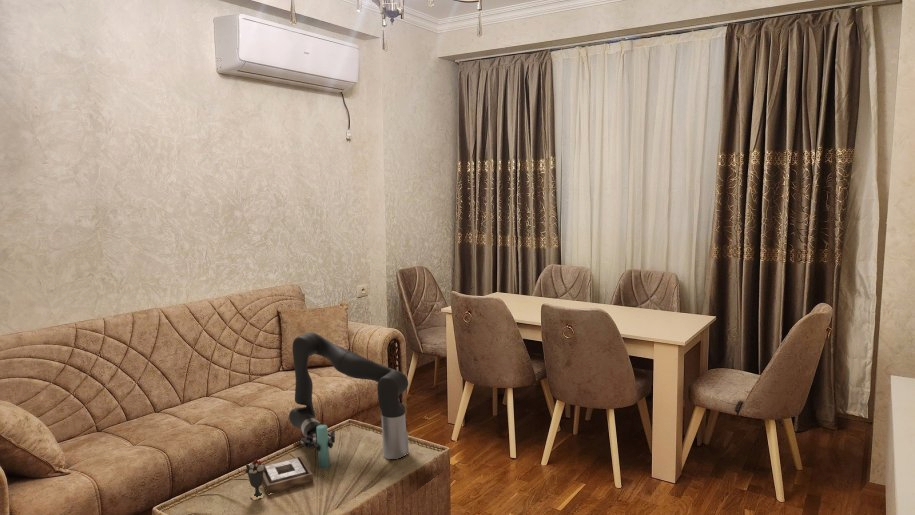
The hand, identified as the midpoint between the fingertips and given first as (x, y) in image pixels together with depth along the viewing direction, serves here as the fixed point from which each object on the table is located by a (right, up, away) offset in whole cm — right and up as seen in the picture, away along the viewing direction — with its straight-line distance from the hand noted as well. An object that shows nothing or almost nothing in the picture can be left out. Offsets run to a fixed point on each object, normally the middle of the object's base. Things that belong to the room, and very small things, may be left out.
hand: (325, 447), depth 235 cm
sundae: (-20, -12, -16) cm, 29 cm away
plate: (-13, -10, -5) cm, 18 cm away
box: (-13, -10, -5) cm, 18 cm away
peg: (-1, -9, +4) cm, 9 cm away
